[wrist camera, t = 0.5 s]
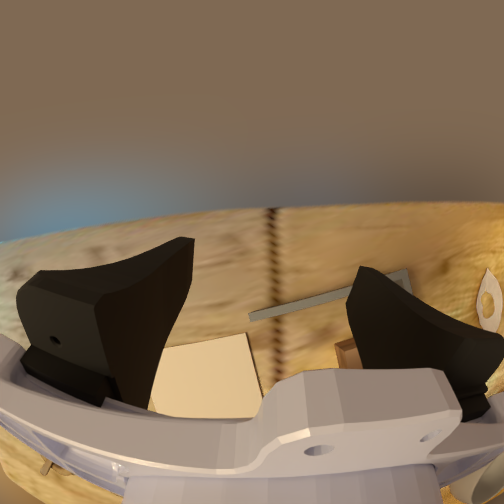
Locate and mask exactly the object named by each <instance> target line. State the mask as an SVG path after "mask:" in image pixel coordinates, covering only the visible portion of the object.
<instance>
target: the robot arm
mask: <svg viewBox="0 0 504 504" xmlns="http://www.w3.org/2000/svg"><path fill="white" fill-rule="evenodd" d="M194 242H195V239H193V238H187V237H178V238H175V239H173V240H171V241H168V242H166V243H164V244H162V245H160V246H158V247H156V248H153V249H151V250H149V251H146V252H144V253H141V254H139V255H137V256H134V257H131V258H128V259H125V260H122V261H119V262H115V263H111V264H106V265H101V266H97V267H91V268H84V269H75V270H40V271H39V272H37V273H36V274H35V275H34V276H33V277H32V278H31V279H30V280H28V281H27V282H26V283H25V284H24V285H23V286H22V287H21V288H20V289H19V290H18V292H17V296H16V304H17V310H18V314H19V317H20V319H21V322H22V324H23V327H24V329H25V332H26V334H27V336H28V339H29V341H30V343H31V346H30V347H29V348H28V350H27V351H26V350H25V349H24V348H23V347H22V346H21V345H20V344H18V343H17V342H15V341H13V340H11V339H9V338H8V337H6V336H4V335H3V334H0V426H2V427H3V428H4V429H5V430H7V431H8V432H9V433H11V434H12V435H13V436H15V437H16V438H18V439H19V440H20V441H22V442H23V443H25V444H26V445H27V446H29V447H30V448H32V449H33V450H35V451H36V452H38V453H39V454H41V455H43V456H44V457H46V458H47V459H49V460H50V461H52V462H54V463H55V464H57V465H59V466H61V467H62V468H64V469H66V470H68V471H69V472H71V473H73V474H75V475H77V476H79V477H81V478H83V479H85V480H87V481H89V482H91V483H93V484H95V485H97V486H99V487H101V488H104V489H106V490H108V491H110V492H113V493H115V494H118V495H120V496H123V500H122V503H121V504H443V500H442V496H441V492H440V488H443V487H445V486H447V485H449V484H451V483H453V482H455V481H457V480H459V479H462V478H464V477H465V476H467V475H469V474H471V473H473V472H475V471H477V470H479V469H481V468H483V467H484V466H486V465H488V464H489V463H490V462H492V461H493V460H494V459H496V458H497V457H498V456H499V455H501V454H502V453H503V452H504V391H503V392H500V393H497V394H494V395H492V396H490V397H489V398H486V396H485V395H484V393H486V392H487V391H488V388H487V386H486V384H485V383H486V382H487V380H488V379H489V378H490V377H491V375H492V374H493V373H494V372H495V370H496V369H497V368H498V366H499V365H500V363H501V362H502V360H503V358H504V338H503V337H502V336H501V335H500V334H498V333H494V332H491V331H487V330H483V329H480V328H477V327H474V326H471V325H468V324H465V323H463V322H461V321H458V320H456V319H454V318H452V317H450V316H447V315H445V314H443V313H441V312H439V311H438V310H436V309H434V308H432V307H431V306H429V305H427V304H426V303H424V302H422V301H421V300H419V299H418V298H416V297H415V296H413V295H412V294H411V293H409V292H408V291H406V290H405V289H403V288H402V287H401V286H399V285H398V284H397V283H395V282H394V281H392V280H391V279H390V278H388V277H387V276H385V275H384V274H382V273H381V272H379V271H377V270H375V269H373V268H370V267H364V266H360V267H359V270H358V273H357V275H356V278H355V281H354V283H353V286H352V289H351V291H350V294H349V296H348V299H347V302H346V309H347V316H348V321H349V325H350V328H351V331H352V334H353V337H354V340H355V343H356V347H357V350H358V353H359V356H360V359H361V363H362V367H363V369H339V368H327V369H318V370H308V371H302V372H300V373H298V374H295V375H293V376H291V377H288V378H286V379H284V380H281V381H279V382H277V383H276V384H275V385H274V386H273V387H272V388H271V390H270V391H269V392H268V393H267V394H266V395H265V396H264V397H263V400H262V403H261V405H260V408H259V411H258V413H257V414H256V416H255V417H248V418H186V417H172V416H168V415H164V414H160V413H156V412H153V411H149V410H147V409H148V404H149V400H150V395H151V391H152V387H153V383H154V380H155V376H156V372H157V369H158V365H159V362H160V359H161V356H162V352H163V349H164V346H165V343H166V341H167V338H168V336H169V334H170V332H171V330H172V327H173V325H174V323H175V321H176V319H177V317H178V315H179V313H180V311H181V309H182V307H183V305H184V302H185V300H186V298H187V295H188V292H189V289H190V285H191V282H192V272H193V256H194Z"/></svg>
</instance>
